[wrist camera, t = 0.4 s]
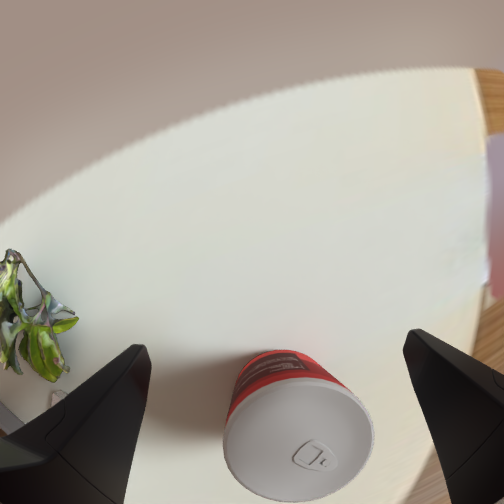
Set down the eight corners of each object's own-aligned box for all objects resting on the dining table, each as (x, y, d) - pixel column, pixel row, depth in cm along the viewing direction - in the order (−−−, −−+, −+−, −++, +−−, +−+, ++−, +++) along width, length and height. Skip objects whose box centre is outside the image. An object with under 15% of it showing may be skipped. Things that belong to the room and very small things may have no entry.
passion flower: (51, 309, 29) (-12, 241, 21) (114, 299, 27) (42, 211, 19) (26, 392, 21) (-58, 331, 13) (91, 403, 19) (-21, 329, 11)
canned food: (306, 440, 22) (335, 512, 11) (221, 412, 22) (199, 480, 11) (341, 365, 23) (400, 402, 12) (255, 334, 23) (256, 357, 13)
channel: (49, 444, 21) (35, 453, 18) (47, 497, 19) (36, 505, 16) (-9, 393, 22) (-24, 396, 19) (-8, 449, 20) (-20, 454, 17)
